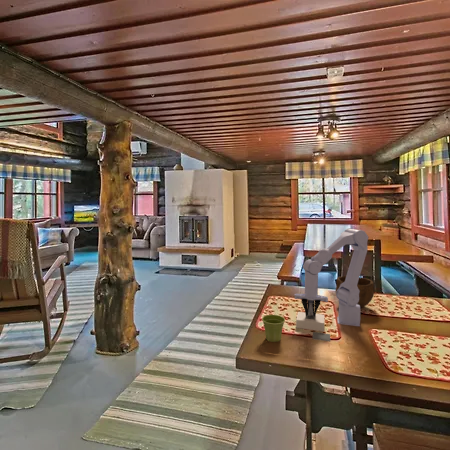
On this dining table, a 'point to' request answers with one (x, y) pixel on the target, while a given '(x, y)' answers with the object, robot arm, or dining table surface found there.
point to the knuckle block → (310, 322)
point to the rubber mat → (321, 336)
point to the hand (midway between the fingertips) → (310, 315)
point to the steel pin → (310, 309)
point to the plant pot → (273, 327)
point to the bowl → (361, 289)
